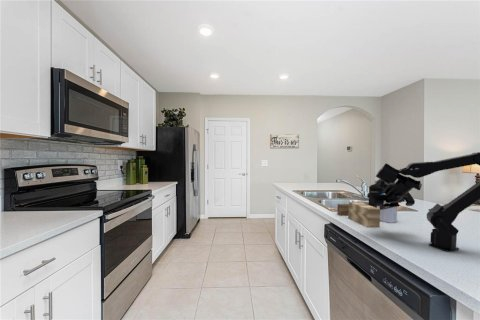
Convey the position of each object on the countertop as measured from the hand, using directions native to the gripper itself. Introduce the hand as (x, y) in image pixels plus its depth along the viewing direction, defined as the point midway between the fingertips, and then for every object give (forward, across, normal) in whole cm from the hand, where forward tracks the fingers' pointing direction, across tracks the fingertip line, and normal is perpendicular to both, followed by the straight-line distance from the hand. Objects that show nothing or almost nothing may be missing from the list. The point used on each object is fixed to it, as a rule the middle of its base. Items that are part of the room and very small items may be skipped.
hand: (380, 208), depth 105 cm
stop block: (+26, 0, -12) cm, 28 cm away
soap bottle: (+18, -15, -4) cm, 24 cm away
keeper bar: (+16, 0, -2) cm, 16 cm away
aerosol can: (+27, -18, -12) cm, 35 cm away
